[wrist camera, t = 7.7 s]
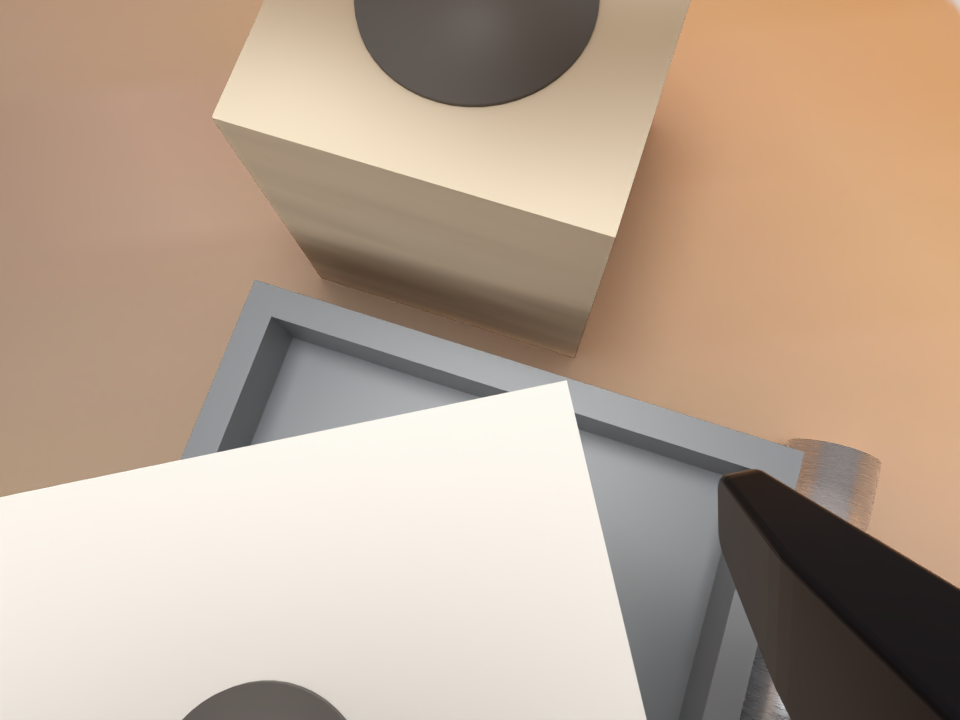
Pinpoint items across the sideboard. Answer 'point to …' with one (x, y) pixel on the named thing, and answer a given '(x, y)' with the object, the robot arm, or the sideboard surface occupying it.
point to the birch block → (454, 145)
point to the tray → (607, 449)
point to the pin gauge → (845, 492)
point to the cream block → (325, 579)
